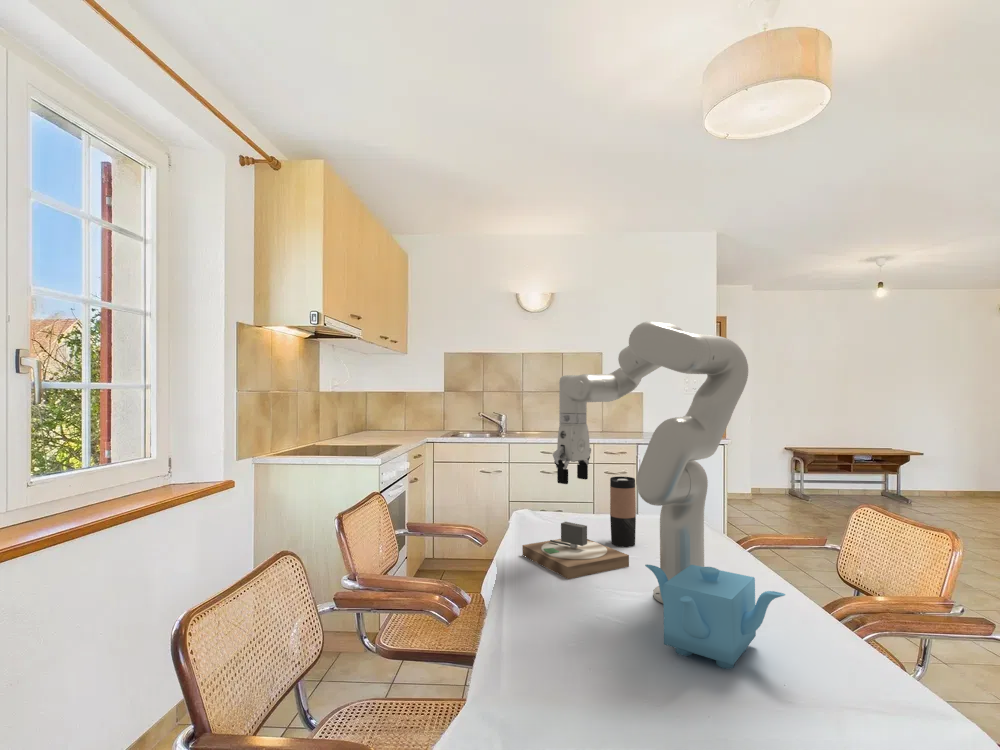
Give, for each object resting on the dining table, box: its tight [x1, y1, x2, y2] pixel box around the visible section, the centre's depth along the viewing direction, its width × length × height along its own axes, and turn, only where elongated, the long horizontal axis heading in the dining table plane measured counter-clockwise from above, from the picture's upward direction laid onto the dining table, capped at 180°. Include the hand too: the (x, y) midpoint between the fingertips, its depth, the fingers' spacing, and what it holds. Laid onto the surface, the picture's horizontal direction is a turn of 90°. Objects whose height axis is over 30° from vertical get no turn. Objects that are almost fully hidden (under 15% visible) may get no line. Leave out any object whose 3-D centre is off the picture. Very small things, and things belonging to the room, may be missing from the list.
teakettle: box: [644, 564, 786, 670], centre depth 99 cm, size 19×19×15 cm
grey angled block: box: [549, 521, 588, 548], centre depth 152 cm, size 12×2×6 cm, turn 49°
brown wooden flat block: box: [522, 538, 630, 580], centre depth 150 cm, size 22×20×4 cm
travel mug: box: [609, 476, 637, 548], centre depth 167 cm, size 8×8×20 cm
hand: (572, 481), depth 151 cm, fingers open, 9 cm apart
